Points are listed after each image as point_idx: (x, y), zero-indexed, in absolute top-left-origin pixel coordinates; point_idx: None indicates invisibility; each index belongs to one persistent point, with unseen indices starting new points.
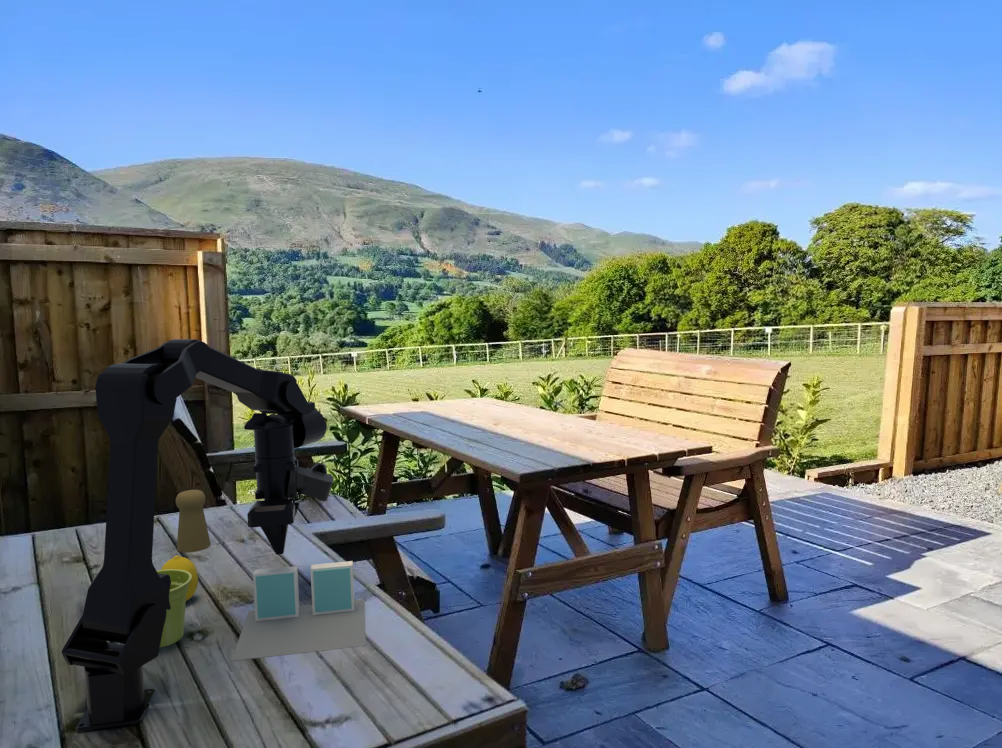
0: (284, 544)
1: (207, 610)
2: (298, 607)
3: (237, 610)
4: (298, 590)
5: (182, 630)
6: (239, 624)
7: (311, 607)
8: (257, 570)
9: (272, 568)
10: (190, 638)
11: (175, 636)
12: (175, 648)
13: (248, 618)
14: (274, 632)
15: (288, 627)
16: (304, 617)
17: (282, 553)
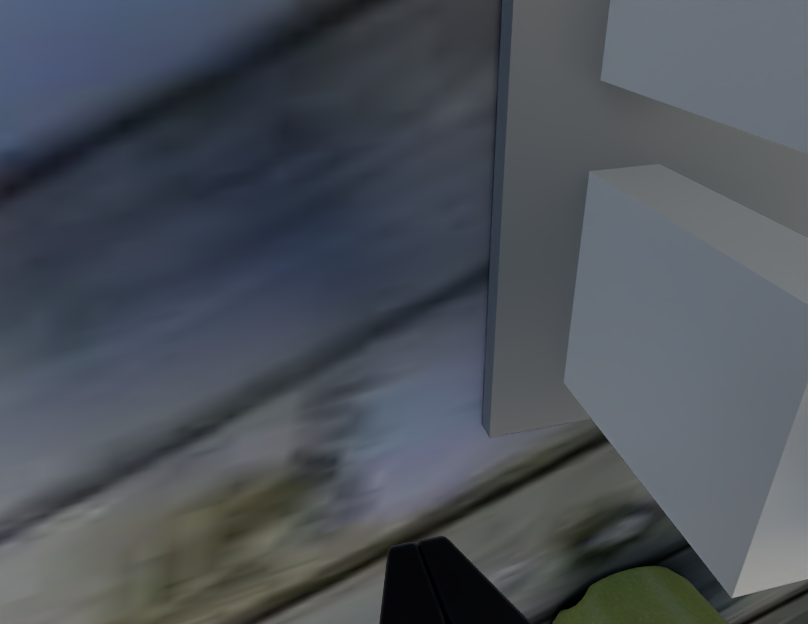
0: (516, 611)
1: (382, 593)
2: (674, 181)
3: (413, 486)
4: (680, 221)
5: (664, 593)
6: (572, 429)
7: (554, 100)
8: (754, 578)
9: (768, 499)
10: (627, 546)
11: (695, 593)
12: (683, 557)
13: (577, 412)
14: None
15: (763, 196)
16: (685, 125)
17: (443, 541)
